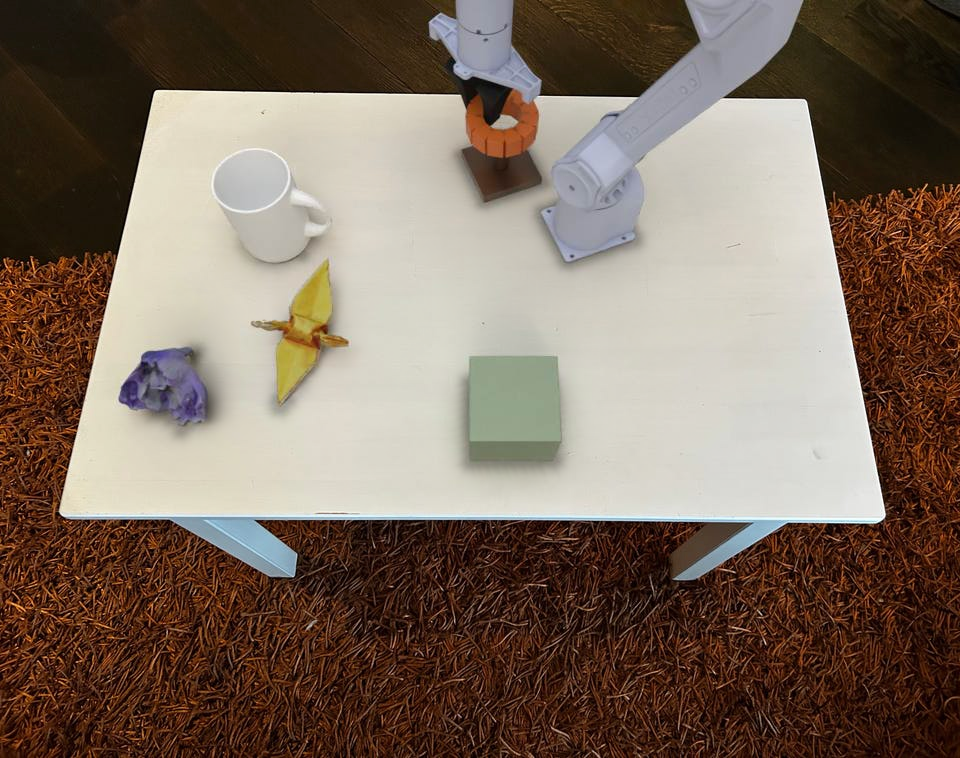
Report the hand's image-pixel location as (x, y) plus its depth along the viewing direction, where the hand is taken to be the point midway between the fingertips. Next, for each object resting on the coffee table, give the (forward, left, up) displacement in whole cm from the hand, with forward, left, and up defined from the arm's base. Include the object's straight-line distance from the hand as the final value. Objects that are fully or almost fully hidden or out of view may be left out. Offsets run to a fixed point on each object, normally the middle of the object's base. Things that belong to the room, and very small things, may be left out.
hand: (483, 114), depth 78 cm
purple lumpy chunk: (+44, +18, -8) cm, 48 cm away
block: (+11, +35, -8) cm, 37 cm away
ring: (-1, +3, 0) cm, 3 cm away
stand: (-1, +3, -8) cm, 8 cm away
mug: (+27, +3, -8) cm, 28 cm away
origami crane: (+29, +17, -8) cm, 34 cm away
